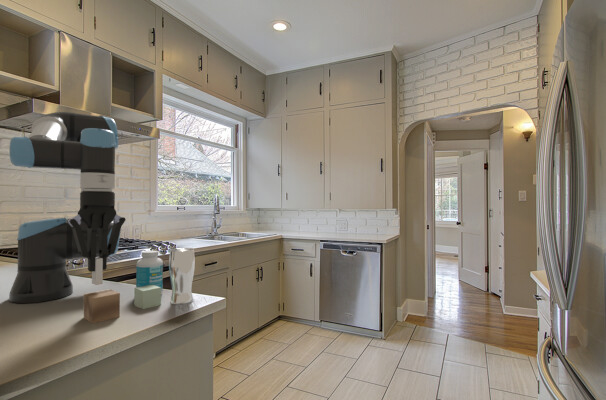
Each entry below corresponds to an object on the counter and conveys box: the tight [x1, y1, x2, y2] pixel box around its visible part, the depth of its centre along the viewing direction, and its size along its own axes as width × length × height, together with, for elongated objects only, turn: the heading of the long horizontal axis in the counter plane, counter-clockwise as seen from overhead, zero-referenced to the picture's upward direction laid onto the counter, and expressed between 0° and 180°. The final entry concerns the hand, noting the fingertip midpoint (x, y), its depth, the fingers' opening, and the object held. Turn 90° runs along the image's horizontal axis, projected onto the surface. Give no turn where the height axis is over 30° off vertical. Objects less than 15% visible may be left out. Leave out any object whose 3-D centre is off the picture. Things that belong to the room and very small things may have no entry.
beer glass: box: [168, 247, 196, 306], centre depth 97 cm, size 7×7×15 cm
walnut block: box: [83, 288, 121, 324], centre depth 84 cm, size 6×6×6 cm
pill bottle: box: [135, 250, 164, 295], centre depth 103 cm, size 8×7×14 cm
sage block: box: [133, 285, 162, 310], centre depth 94 cm, size 5×5×5 cm
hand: (97, 283), depth 86 cm, fingers closed
